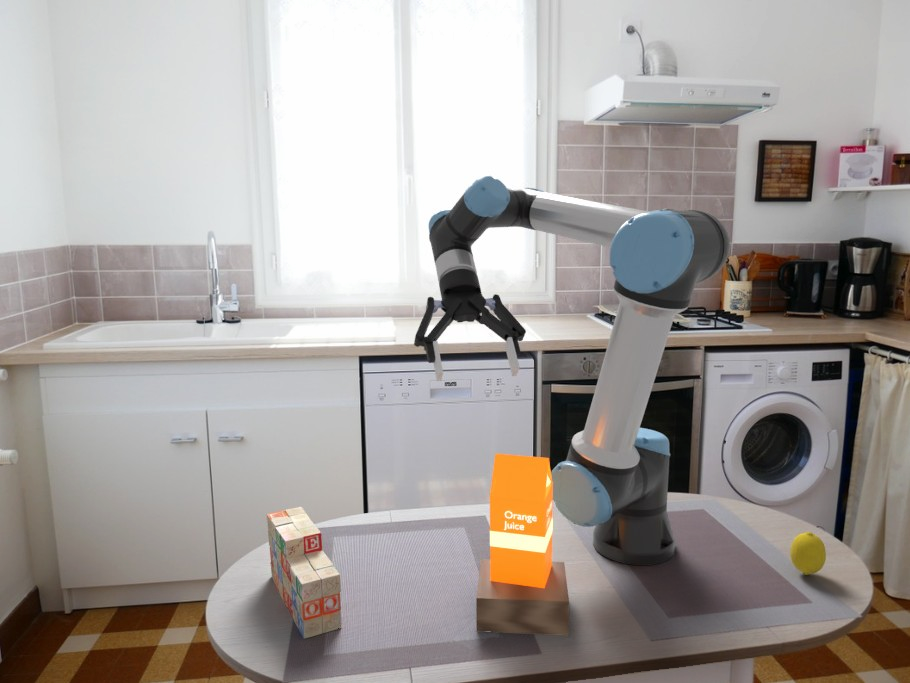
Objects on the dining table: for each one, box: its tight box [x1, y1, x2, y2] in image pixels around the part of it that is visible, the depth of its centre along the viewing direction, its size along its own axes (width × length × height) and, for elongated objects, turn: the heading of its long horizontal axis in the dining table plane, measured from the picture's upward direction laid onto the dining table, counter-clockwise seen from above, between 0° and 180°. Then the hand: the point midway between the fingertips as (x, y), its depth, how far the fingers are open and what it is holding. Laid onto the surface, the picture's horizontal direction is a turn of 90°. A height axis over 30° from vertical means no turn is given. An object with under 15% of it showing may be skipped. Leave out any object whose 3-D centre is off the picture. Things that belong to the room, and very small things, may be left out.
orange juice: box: [489, 453, 554, 588], centre depth 112 cm, size 8×9×20 cm
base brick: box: [475, 558, 570, 636], centre depth 112 cm, size 14×12×6 cm
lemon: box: [789, 531, 827, 576], centre depth 122 cm, size 6×6×8 cm
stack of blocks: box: [266, 506, 342, 639], centre depth 116 cm, size 21×6×12 cm, turn 28°
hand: (478, 374), depth 121 cm, fingers open, 13 cm apart
